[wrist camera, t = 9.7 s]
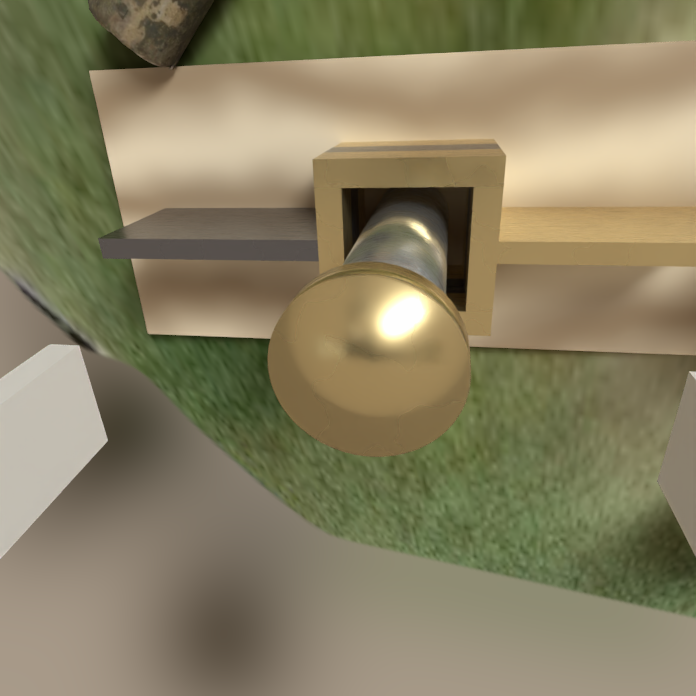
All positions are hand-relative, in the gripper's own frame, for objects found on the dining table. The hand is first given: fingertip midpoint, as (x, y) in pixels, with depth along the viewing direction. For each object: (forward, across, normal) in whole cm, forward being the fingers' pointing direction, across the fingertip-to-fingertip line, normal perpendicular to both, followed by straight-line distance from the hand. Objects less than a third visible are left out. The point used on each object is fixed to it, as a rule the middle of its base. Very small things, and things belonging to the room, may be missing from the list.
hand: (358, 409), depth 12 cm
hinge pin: (+20, 0, -1) cm, 21 cm away
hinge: (+20, 0, -1) cm, 21 cm away
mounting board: (+22, 0, -1) cm, 22 cm away
